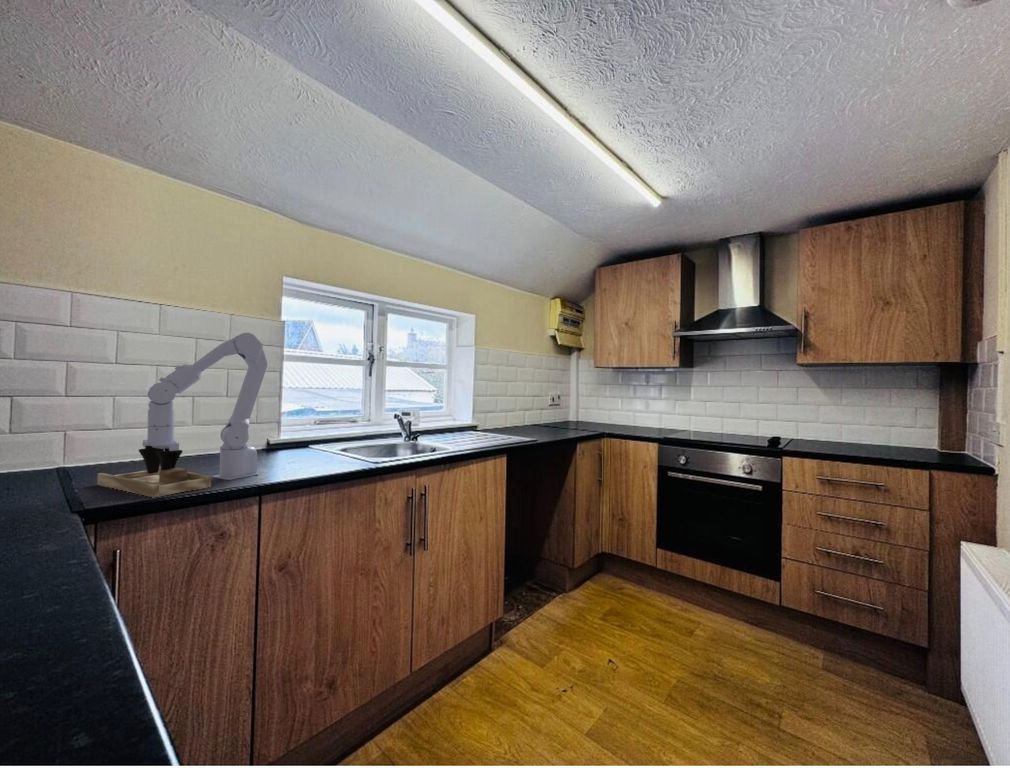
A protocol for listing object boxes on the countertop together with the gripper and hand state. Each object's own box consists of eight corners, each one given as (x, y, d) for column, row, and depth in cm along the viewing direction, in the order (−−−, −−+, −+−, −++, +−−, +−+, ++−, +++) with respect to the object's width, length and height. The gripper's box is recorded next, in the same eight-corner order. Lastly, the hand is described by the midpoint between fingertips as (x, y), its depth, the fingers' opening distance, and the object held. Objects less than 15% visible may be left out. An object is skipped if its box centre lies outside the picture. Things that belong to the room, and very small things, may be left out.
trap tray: (154, 475, 129) (154, 465, 129) (210, 487, 117) (211, 475, 117) (97, 484, 117) (97, 473, 117) (153, 498, 105) (153, 485, 105)
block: (178, 478, 119) (178, 467, 119) (187, 480, 117) (187, 469, 117) (159, 481, 115) (159, 470, 115) (168, 483, 113) (168, 472, 113)
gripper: (130, 425, 119) (129, 474, 119) (158, 428, 113) (157, 480, 113) (159, 423, 125) (158, 469, 125) (187, 426, 119) (187, 475, 119)
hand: (160, 474), depth 119 cm, fingers open, 7 cm apart
